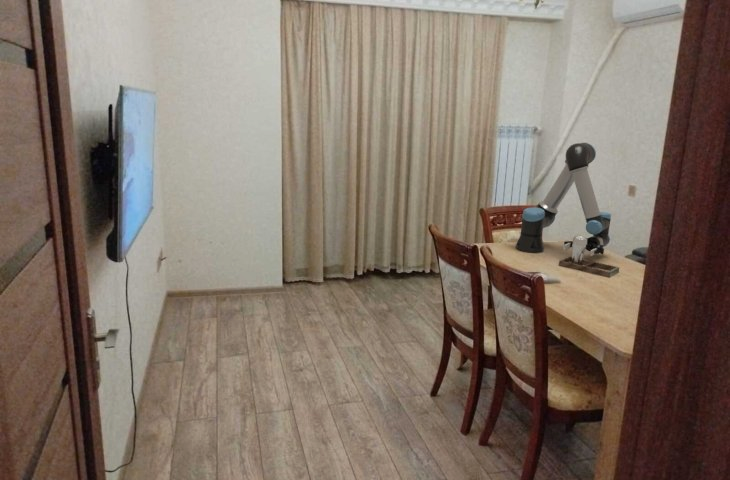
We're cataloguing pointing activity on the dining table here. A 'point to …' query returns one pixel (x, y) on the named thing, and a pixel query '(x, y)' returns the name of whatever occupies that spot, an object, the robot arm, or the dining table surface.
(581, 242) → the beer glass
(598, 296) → the dining table surface
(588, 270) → the two-cell rack
